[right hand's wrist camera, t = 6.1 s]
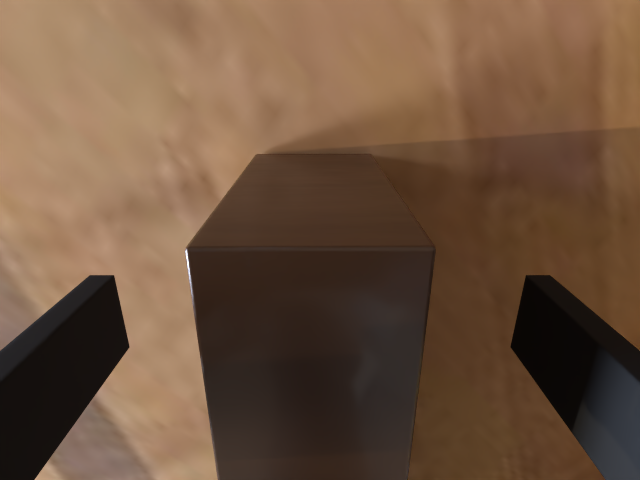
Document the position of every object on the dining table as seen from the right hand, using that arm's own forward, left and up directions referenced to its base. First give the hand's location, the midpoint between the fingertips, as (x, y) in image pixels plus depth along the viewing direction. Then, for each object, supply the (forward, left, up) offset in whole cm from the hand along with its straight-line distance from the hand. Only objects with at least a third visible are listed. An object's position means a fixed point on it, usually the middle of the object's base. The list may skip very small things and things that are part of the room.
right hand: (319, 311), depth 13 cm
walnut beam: (0, -10, -4) cm, 11 cm away
